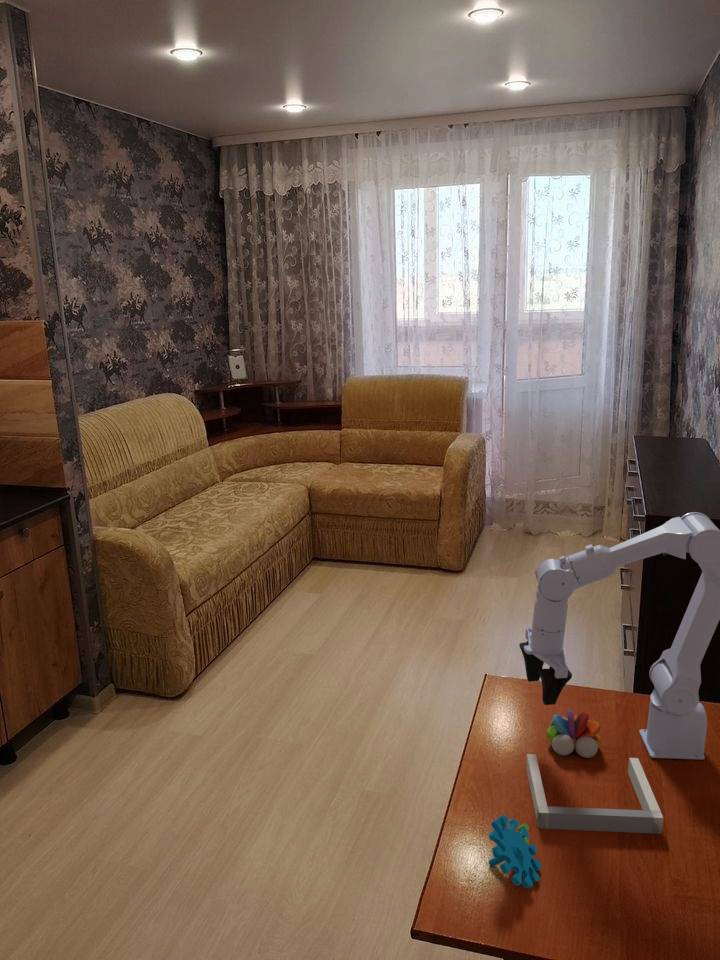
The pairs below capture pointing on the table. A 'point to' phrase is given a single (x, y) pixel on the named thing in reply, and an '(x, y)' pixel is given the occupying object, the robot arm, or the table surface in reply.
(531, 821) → the table surface
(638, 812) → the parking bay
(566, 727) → the rainbow petal cluster
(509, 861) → the teal knobby piece
